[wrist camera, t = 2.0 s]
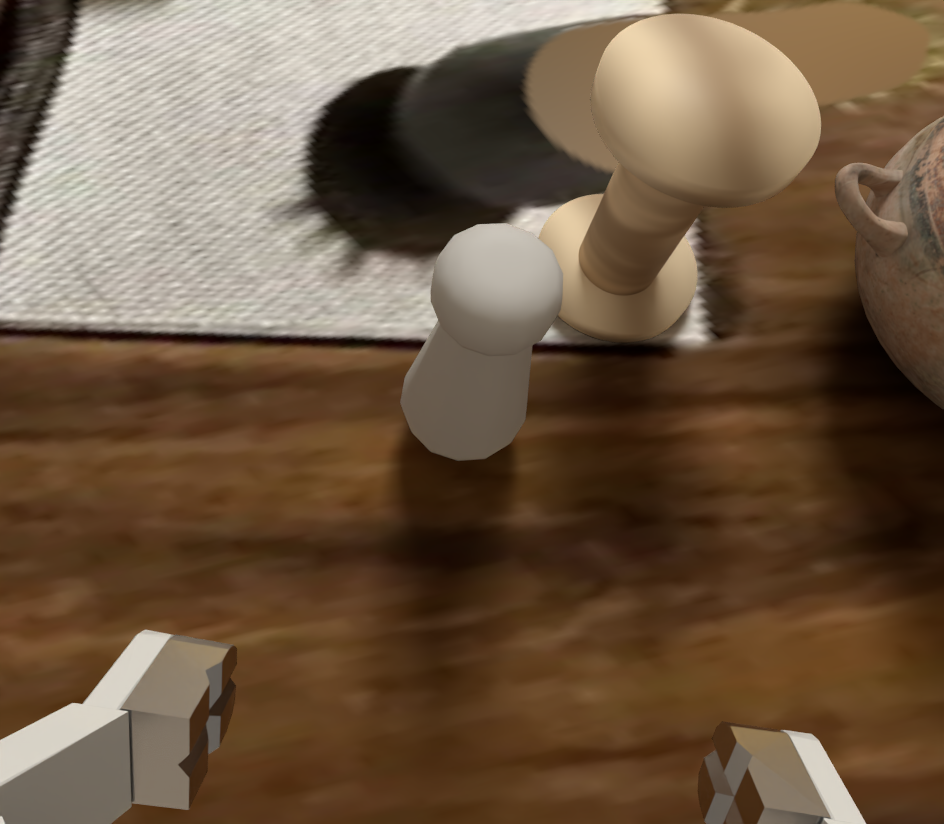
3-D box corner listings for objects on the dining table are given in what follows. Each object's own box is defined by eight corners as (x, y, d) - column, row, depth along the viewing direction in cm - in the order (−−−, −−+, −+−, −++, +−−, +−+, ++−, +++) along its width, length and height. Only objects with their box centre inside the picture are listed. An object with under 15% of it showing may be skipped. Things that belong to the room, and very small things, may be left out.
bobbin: (568, 359, 34) (655, 209, 23) (510, 221, 37) (563, 28, 26) (716, 321, 36) (862, 166, 25) (650, 193, 39) (755, 2, 28)
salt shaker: (440, 496, 30) (473, 384, 18) (378, 398, 32) (372, 235, 20) (540, 436, 32) (630, 297, 20) (477, 346, 34) (526, 166, 22)
